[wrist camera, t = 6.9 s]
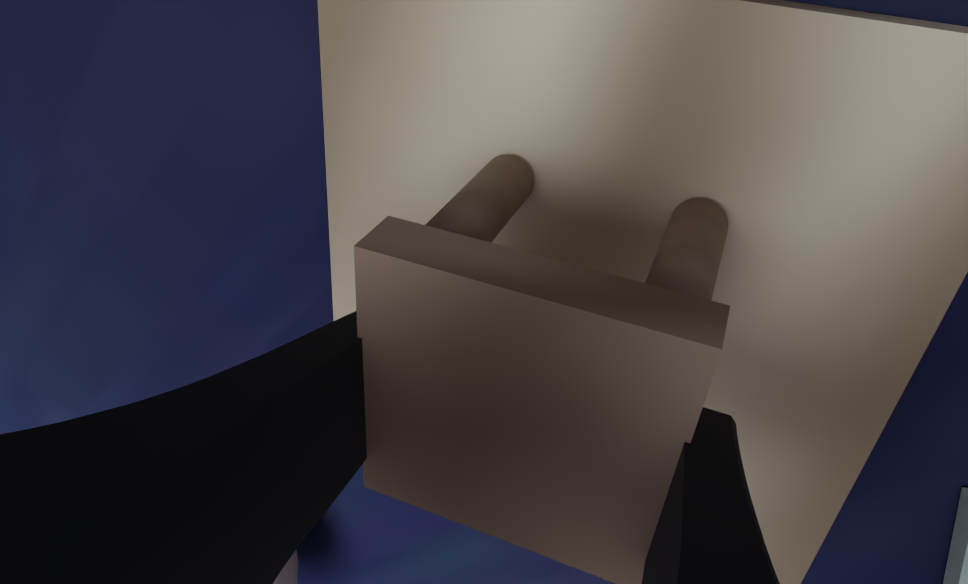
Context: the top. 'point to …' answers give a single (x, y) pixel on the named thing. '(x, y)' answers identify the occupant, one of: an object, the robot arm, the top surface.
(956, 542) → the upturned stool
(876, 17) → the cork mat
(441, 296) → the stool
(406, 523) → the top surface
